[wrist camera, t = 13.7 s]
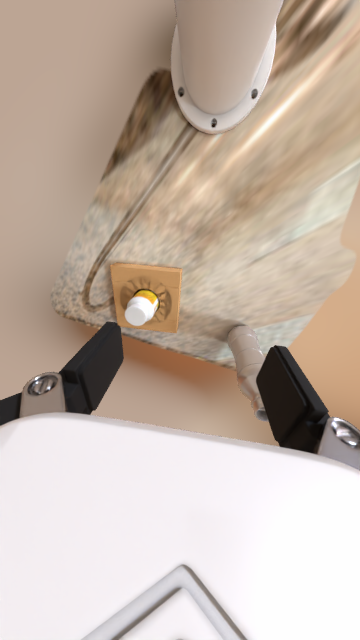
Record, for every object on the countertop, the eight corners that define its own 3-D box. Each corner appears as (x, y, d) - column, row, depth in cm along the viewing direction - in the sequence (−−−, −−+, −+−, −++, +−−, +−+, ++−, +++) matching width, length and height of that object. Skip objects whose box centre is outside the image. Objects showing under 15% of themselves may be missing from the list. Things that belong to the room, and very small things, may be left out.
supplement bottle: (163, 305, 40) (153, 327, 31) (142, 309, 41) (127, 331, 32) (157, 283, 37) (144, 300, 29) (134, 288, 38) (116, 306, 30)
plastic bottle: (222, 341, 43) (236, 422, 25) (231, 318, 39) (255, 393, 22) (247, 347, 43) (279, 431, 25) (259, 325, 39) (304, 404, 22)
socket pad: (116, 262, 36) (109, 265, 33) (182, 268, 35) (180, 272, 32) (122, 320, 43) (117, 326, 40) (178, 326, 42) (176, 333, 39)
